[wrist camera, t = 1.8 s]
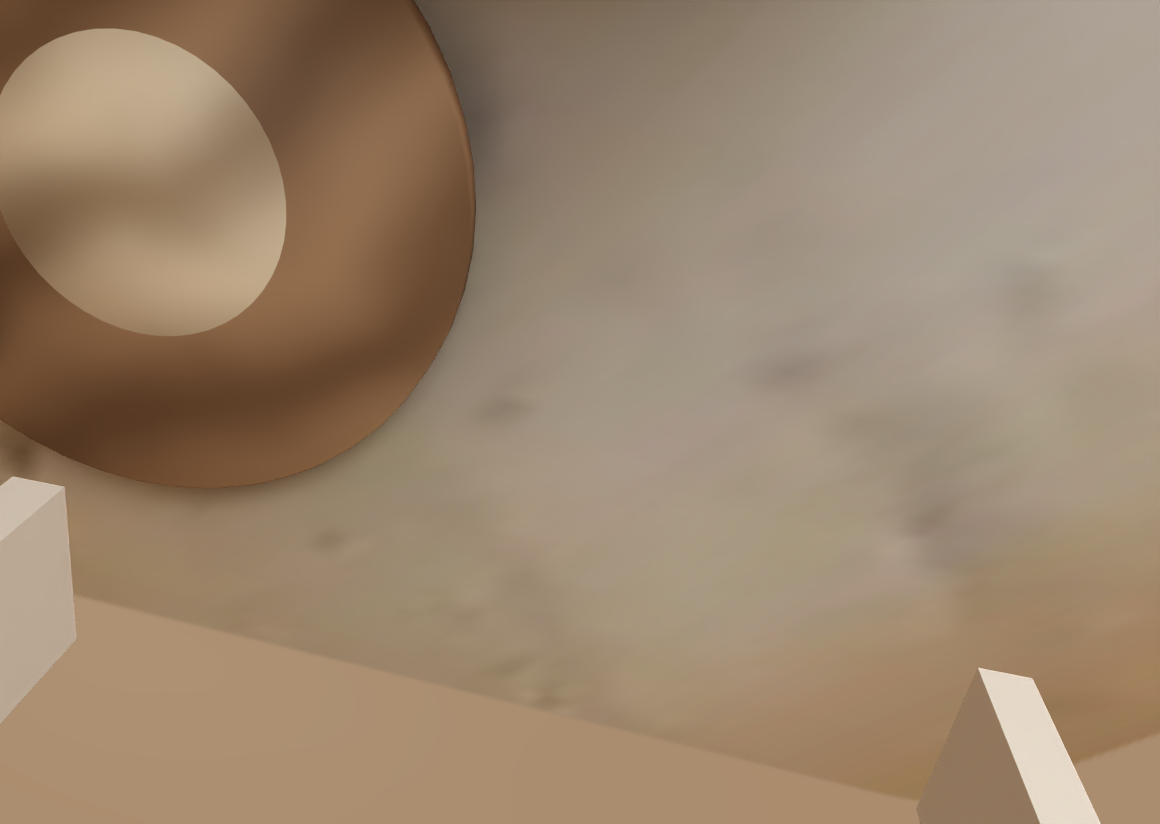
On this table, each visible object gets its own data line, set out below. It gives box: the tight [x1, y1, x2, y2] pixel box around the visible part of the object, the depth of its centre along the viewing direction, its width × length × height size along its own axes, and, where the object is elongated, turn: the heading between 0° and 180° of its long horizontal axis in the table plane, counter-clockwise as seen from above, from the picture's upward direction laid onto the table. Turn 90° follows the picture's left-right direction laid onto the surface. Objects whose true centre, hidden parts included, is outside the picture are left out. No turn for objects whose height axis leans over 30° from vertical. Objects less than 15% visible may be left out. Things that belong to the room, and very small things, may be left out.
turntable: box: [0, 0, 476, 488], centre depth 29 cm, size 22×22×9 cm
